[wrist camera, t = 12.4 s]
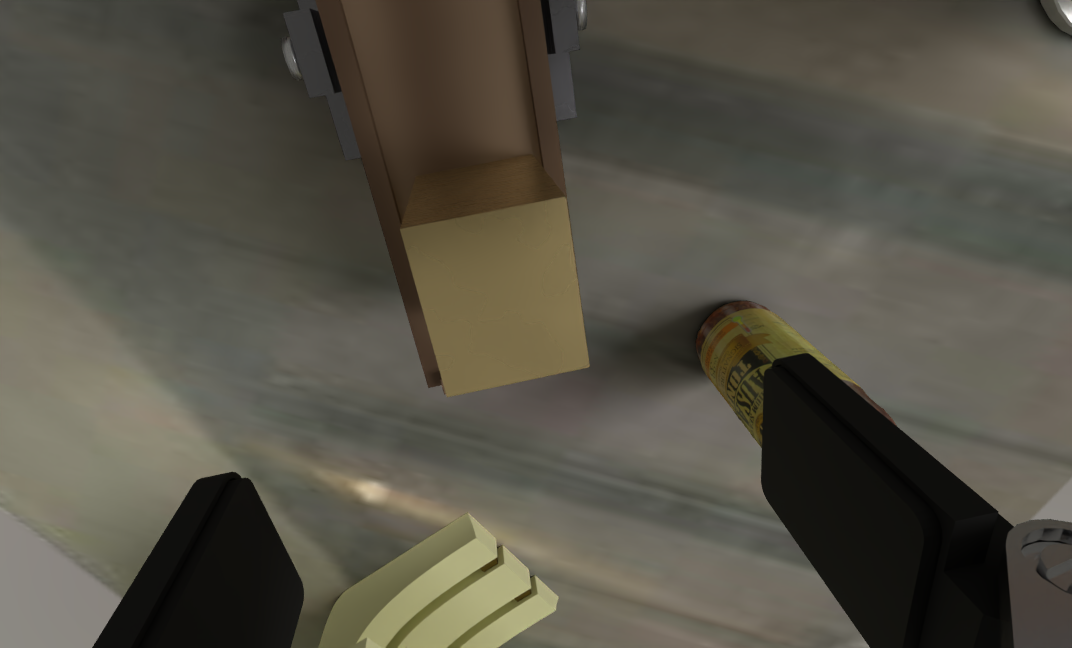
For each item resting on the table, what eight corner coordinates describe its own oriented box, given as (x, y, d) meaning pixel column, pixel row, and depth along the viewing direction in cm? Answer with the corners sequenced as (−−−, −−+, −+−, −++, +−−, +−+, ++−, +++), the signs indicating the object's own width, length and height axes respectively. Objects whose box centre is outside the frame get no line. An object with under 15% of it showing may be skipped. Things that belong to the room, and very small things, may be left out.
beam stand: (546, -94, 28) (584, -156, 20) (572, 115, 32) (612, 134, 24) (286, -51, 27) (217, -97, 19) (349, 156, 32) (313, 190, 24)
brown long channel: (453, -543, 17) (452, -689, 14) (576, 329, 30) (592, 363, 27) (184, -510, 17) (118, -651, 13) (430, 359, 30) (427, 397, 27)
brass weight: (531, 154, 24) (566, 196, 17) (552, 283, 27) (589, 367, 19) (415, 176, 24) (399, 228, 16) (448, 304, 26) (446, 397, 19)
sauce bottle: (696, 298, 39) (904, 502, 21) (781, 295, 39) (1051, 488, 22) (684, 380, 41) (858, 622, 24) (764, 375, 42) (991, 606, 24)
